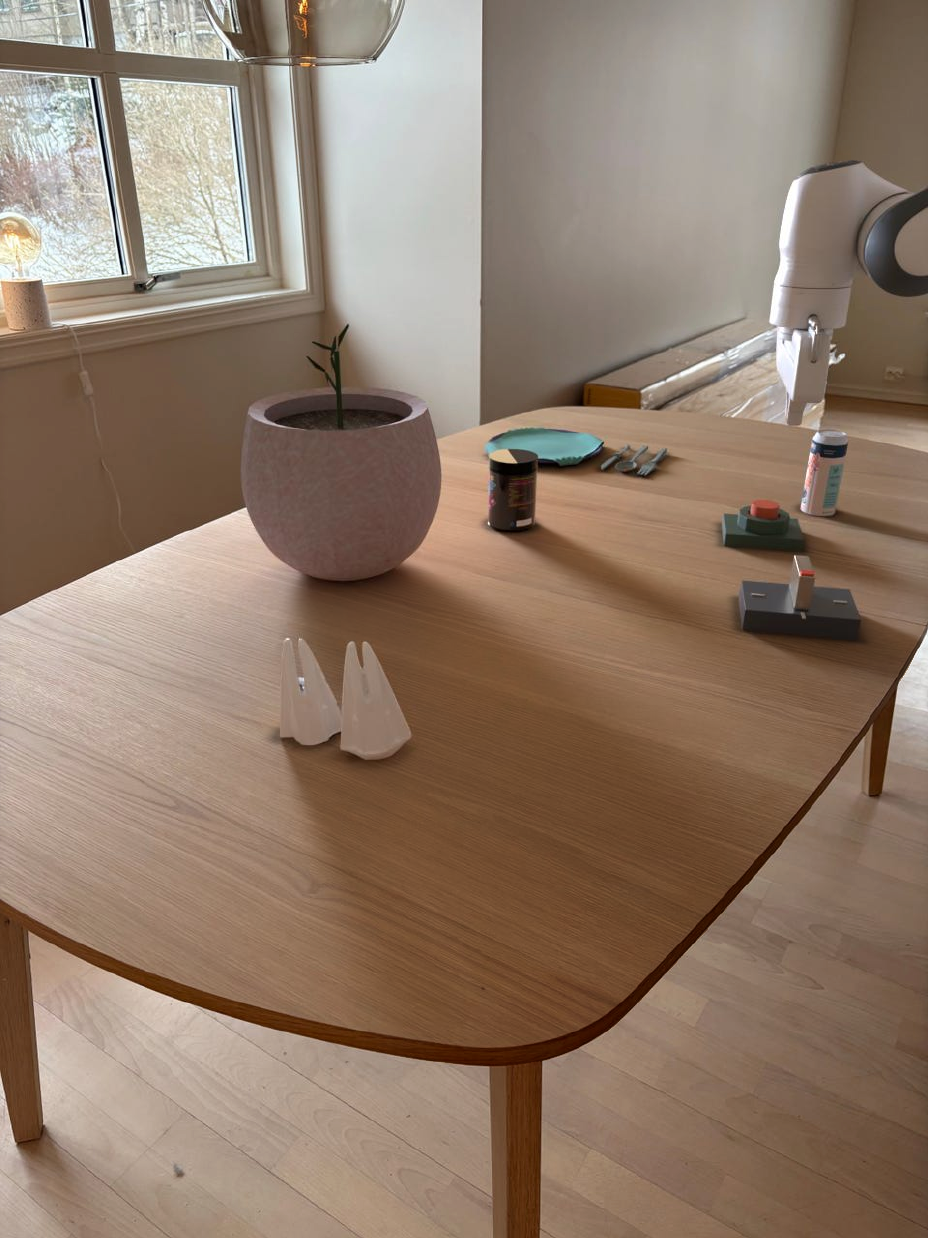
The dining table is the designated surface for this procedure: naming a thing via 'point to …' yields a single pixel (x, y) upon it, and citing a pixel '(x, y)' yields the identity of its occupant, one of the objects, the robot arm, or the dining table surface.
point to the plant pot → (341, 476)
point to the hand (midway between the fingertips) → (792, 422)
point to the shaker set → (366, 704)
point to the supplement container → (512, 490)
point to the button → (764, 509)
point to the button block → (762, 531)
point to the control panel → (798, 611)
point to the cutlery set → (564, 447)
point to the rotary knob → (801, 582)
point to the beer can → (824, 472)
